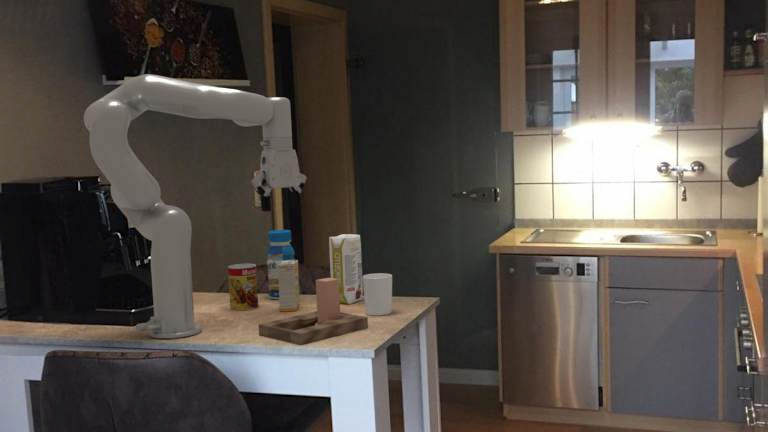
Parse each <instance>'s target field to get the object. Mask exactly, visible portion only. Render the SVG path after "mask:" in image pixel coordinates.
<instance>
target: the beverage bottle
mask: <svg viewBox="0 0 768 432" xmlns="http://www.w3.org/2000/svg"><path fill="white" fill-rule="evenodd" d="M291 231H292V230H289V229H275V230H269V231H268V233H267V234H268V239H267V240H268V243H269V244H270V245H269V246H268V249H267V253H266V256H267V261H266V266H267V274H268V289H269V290H268V297H269V299H271V300H279V280H278V264H279V263H280V262H282V261H288V260H296V258H295V257H294V256H295V250H294V248H293V246H292V244H291V242H292V232H291ZM279 301H280V300H279Z"/></svg>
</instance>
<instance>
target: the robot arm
mask: <svg viewBox="0 0 768 432" xmlns="http://www.w3.org/2000/svg"><path fill="white" fill-rule="evenodd" d="M146 111H153V112H160V113H164V114H170V115H177V116H181V117H187V118H192V119H204V120H206V119H221V120H232V122H233V123H235V124H236V125H238V126H240V127H255V126H262V141H260V143H259V144H260V146H261V147H263V150H262V151H261V154H260V155H261V156H260V169H259V170H260V171H259V172H260V173H259V174H258V175H256V176H255V177H254V178H253V179H251V184H252V186H253V188H254V191H255V192H256V193H257V194H258V196H259V197H260V208H261V211H262V212H271V210H272V206H271V204H272V203H271V201H272V200H271V196H270V195H269V194H270V192H271V191H272V190H273V189H282V188H284V189H285V188H289V190H290V191H291V192H290V193H289V194H290V207H291V208H292V209H301V196H300V195H301V193H302V190H303V189H304V187H305V183H306V180H307V175H305V174H303V173H301V172H300V166H299V160H298V155H297V152H296V149H293V135H292V134H293V132H292V115H291V114H292V112H291V101H290V99H289V98H287V97H282V96H281V97H279V96H278V97H277V96H275V97H274V96H273V97H266V96H264V95H261V94H258V93H254V92H248V91H244V90H239V89H233V88H227V87H220V86H214V85H208V84H203V83H202V84H201V83H196V82H191V81H187V80H186V81H185V80H181V79H177V78H173V77H168V76H164V75H163V76H162V75H158V74H151V73H146V74H141V75H137V76H134V77H132V78H130V79H129V80H127V81H126V82H124V83H123V84H121V85H120V86H118V87H117V88H115V89H113V90H112V91H110V92H109V93H107V94H105V95H103V96H102V97H101V98H99V99H98V100H96V101H94V102H92V103H91V104H90V105H89V106H88V107H87V108H86V109H85V111H84V114H83V123H84V126H85V128H86V129H87V130H88V132H89V150H90V152H91V153H90V154H91V156H92V158H93V161H94V162H95V164H96V166H97V167H98V168H99V170H100V172H101V173H102V174H103V175H104V177H105V178H106V179H107V181H108V182H109V183H110V195H111V198H112V200H113V202H114V204H115V205H116V207H117V208H118V209H119V210H120V211H121V212H122V214H123V215H124V216H125V218H127V220H129V223H131V224H132V226H133V227H134V228H135V229H136V231H138V232H139V234H141V236H143V237H144V238H145V239H147V240H148V241H151V248H150V273H151V286H152V300H153V303H152V304H153V314H154V315H153V316H150V318H149V320H148V321H147V322H142V323H137V324H136V325H135V329H136V332H137V333H139V332H140V333H141V332H145V331H147V332H148V336H149V337H151V338H155V339H162V340H163V339H164V340H165V339H179V338H186V337H190V336H194V335H196V334H199V333H201V332H202V325H200V324H198V323H195V312H194V311H195V309H194V295H193V293H194V292H193V277H192V276H193V275H192V265H191V264H192V263H191V262H192V261H191V260H192V259H191V247H192V246H191V242H192V232H193V231H192V223H191V219H190V217H189V216H188V213H186V212H185V211H184V209H183V208H179V207H177V206H174V205H169V204H168V205H167V204H165V203H164V202H163V200H162V199H161V194H162V192H161V187H160V185H159V182H158V180H156V178H155V177H154V176H153V175H152V174H151V173H150V172H149V171H148V169H147V168H146V167H145V166H144V164H143V163H142V162H141V160H139V158H138V157H137V155H136V154H135V153H134V150H132V148H131V147H130V144H129V141H128V129H129V128H130V124H131V122H132V121H133V120H134V119H136V118H138V117H139V116H140V115H142V114H143V113H144V112H146Z"/></svg>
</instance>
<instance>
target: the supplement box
mask: <svg viewBox="0 0 768 432" xmlns="http://www.w3.org/2000/svg"><path fill="white" fill-rule="evenodd" d="M299 274H300V273H299V260H298V259H295V260H288V261H282V262H280V263H279V264H278V280H279V311H280V312H297V310H298V309H299V306H300V305H301V301H300V300H301V299H300V298H301V297H300V283H299V282H300V280H299V279H300V278H299Z"/></svg>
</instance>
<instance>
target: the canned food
mask: <svg viewBox="0 0 768 432" xmlns="http://www.w3.org/2000/svg"><path fill="white" fill-rule="evenodd" d="M227 271H228V272H227V275H228V294H229V307H230V310H231V311H236V310H240V312H241V310H244V311H252V310H255V309H256V310H257V309H258V308H259V296H258V295H259V294H258V275H257V264H255V263H237V264H236V263H235V264H231V265H228V266H227ZM251 309H252V310H251Z"/></svg>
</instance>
